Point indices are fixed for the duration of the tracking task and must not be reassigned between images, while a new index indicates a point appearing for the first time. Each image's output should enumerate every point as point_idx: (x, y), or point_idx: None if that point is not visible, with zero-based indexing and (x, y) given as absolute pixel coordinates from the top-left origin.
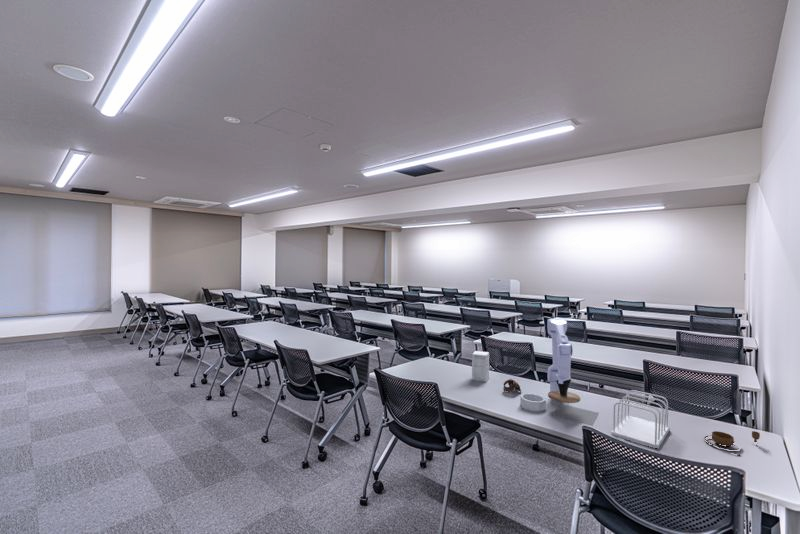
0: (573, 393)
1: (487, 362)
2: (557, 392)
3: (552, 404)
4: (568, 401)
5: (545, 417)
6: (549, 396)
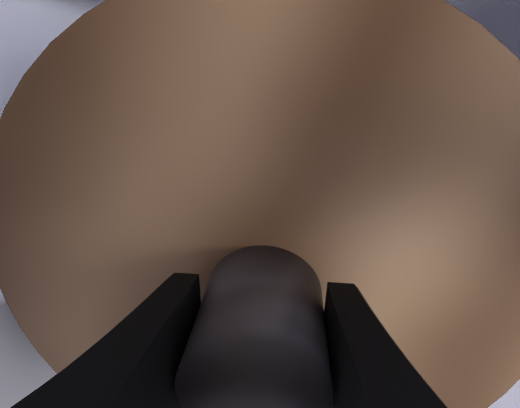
0: (488, 398)
1: None
2: (412, 161)
3: (485, 7)
4: (55, 370)
5: (11, 43)
6: (45, 55)
